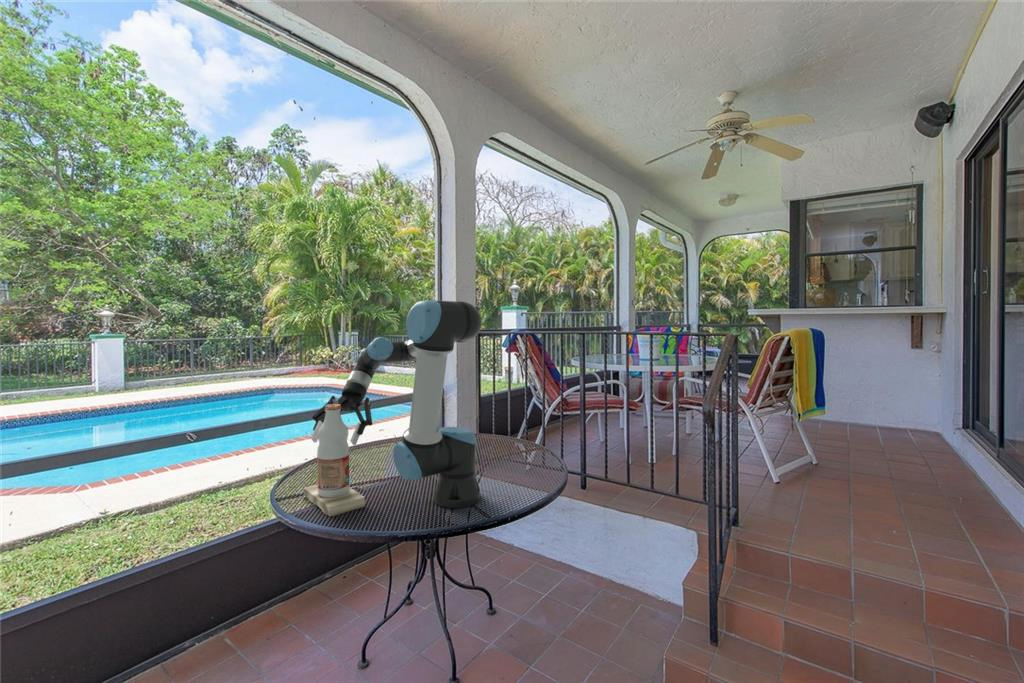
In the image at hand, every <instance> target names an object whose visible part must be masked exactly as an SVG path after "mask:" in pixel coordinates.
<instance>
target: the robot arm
mask: <svg viewBox="0 0 1024 683" xmlns="http://www.w3.org/2000/svg"><path fill="white" fill-rule="evenodd" d="M482 325H483V320H482V315H481V313H480V311H479V310H478V309H477V308H476V306H474V304H471V303H469V302H466V301H456V300H455V301H452V300H449V301H448V300H436V299H435V300H433V299H431V300H421V301H420V300H419V301H418V302H416V303H414V305H413V306H412V307H411V308H410V310H409V312H408V314H407V317H406V323H405V329H406V331H407V332H406V335H407V337H408V340H402V341H400V340H399V341H398V340H396V341H395V340H394V341H391V340H390V339H389V338H387V337H383V336H379V337H376V338H374V339H373V340H371V342H370V343H369V344H368V345H367V347H366V348H365V347H364V348H362V349H361V350H360V352H359V354H358V355H357V358H356V361H355V363H354V366H353V367H352V370H351V372H350V374H349V376H348V378H347V380H346V382H345V385H344V386H343V389H342V392H341V396H340V397H336V396H335V395H331V397H330V398H329V400H328V401H327V402H326V403H325V404H324V405H323V406H322V407H320V409H319V410H318V411H316V412H315V413H314V415H313V416H312V417H311V418H312V419H313V421H314V422H315V423H314V426H313V428H312V430H313V432H312V433H311V434H312V435H311V436H310V439H311V441H313V443H315V444H317V442H318V441H319V440H318V430H319V428H320V427H321V425H322V424H323V422H324V419H325V415H326V412H325V409H324V408H325V405H329V404H340V405H341V410H340V413H342V412H350V413H351V412H354V411H355V412H354V413H355V414H356V416H357V418H358V420H359V422H357V423H356V426H355V428H354V430H353V433H352V436H351V438H350V441H349V442H350V443H351V444H352V445H353V446H356V445H357V443H358V442H359V441H358V440H359V438H360V436H362V435H363V434H364V432H365V430H366V427H368V426H373V419H372V418H373V417H372V411H371V410H372V409H371V405H372V402H371V400H370V398H369V397H366V394H367V392H368V390H369V387H370V384H371V382H372V381H373V380H372V379H373V377H374V375H375V373H376V372H377V370H378V369H379V368H380V367H381V365H382V364H391V363H402V362H406V363H407V362H415V371H414V377H413V378H414V380H413V390H412V398H411V408H410V416H409V425H408V428H406V429H405V430H404V431H403V433H402V441H401V442H400V441H399V442H397V443H395V445H394V446H393V451H392V455H393V456H392V458H393V462H394V465H395V469H396V471H397V472H398V474H399V475H400V477H401V478H402V479H404V480H405V481H408V482H412V481H416V480H418V481H419V480H422V479H425V478H427V477H431V476H435V475H438V479H437V482H436V486H435V489H434V491H433V502H434V504H436V505H437V506H440V507H443V508H447V509H463V508H468V507H472V506H473V505H476V504H477V503H478V502H480V500H481V489H480V487H479V483H478V480H477V477H476V445H477V442H476V433H475V432H474V431H473V430H471V429H469V428H465V427H460V426H459V427H458V426H443V427H440V417H441V410H442V402H443V392H444V386H445V385H444V384H445V377H446V368H447V360H448V355H449V354H450V353H452V352H453V351H454V347H455V346H454V345H455V343H459V344H462V343H465V342H468V341H470V340H473V339H475V337H476V336H477V335H478V334H479V333H480V331H481V330H482ZM365 397H366V398H365ZM362 405H363V407H364V414H365V419H364V416H363V415H362V412H361V410H360V407H361V406H362ZM439 427H440V429H439Z"/></svg>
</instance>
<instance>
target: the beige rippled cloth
mask: <svg viewBox="0 0 1024 683" xmlns="http://www.w3.org/2000/svg"><path fill="white" fill-rule="evenodd" d="M304 495H305V496H306V498H307V499H309V500H310V501H312V502H313V503H315V504H316V505H317V506H318V507H319V508H320V509H321V510H322V511H321V510H320V509H319V510H320V511H321V512H322V513H323V514H324V515H326V516H327V515H328V516H329V517H328V516H327V517H328V518H332V517H336V516H339V515H341V514H344V513H348V512H351V511H354V510H357V509H361V508H364V507H365V505H366V501H365V500H366V499H365V498H366V497H365V496H364V495H362V494H361V493H359V492H358V491H356V490H354V489H353V488H352V487H350V486H349V491H348V492H347V493H346V494H344V495H341V496H337V497H322V496H320V495H319V494H318V484H315V485H311V486H307V487H303V496H304ZM306 498H305V499H306ZM307 499H306V500H307ZM310 501H309V502H310ZM331 516H332V517H331Z"/></svg>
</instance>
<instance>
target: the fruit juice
mask: <svg viewBox="0 0 1024 683" xmlns="http://www.w3.org/2000/svg"><path fill="white" fill-rule="evenodd" d="M324 405H325V404H324ZM324 409H325V412H326V415H325V419H324V422H323V424H322V425H321V427H320V428H319V430H318V440H317V441H318V446H317V450H316V458H317V461H316V462H317V463H316V464H317V465H316V466H317V468H316V470H317V471H316V472H317V474H316V475H317V485H318V494H319V495H320V496H322V497H337V496H341V495H344V494H346V493H347V492H348V491H349V487H350V445H349V443H348V439H349V438H348V437H349V428H348V425H346V423H344V420H343V418H342V414H341V412H340V410H341V405H340V404H329V405H325V408H324Z"/></svg>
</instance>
